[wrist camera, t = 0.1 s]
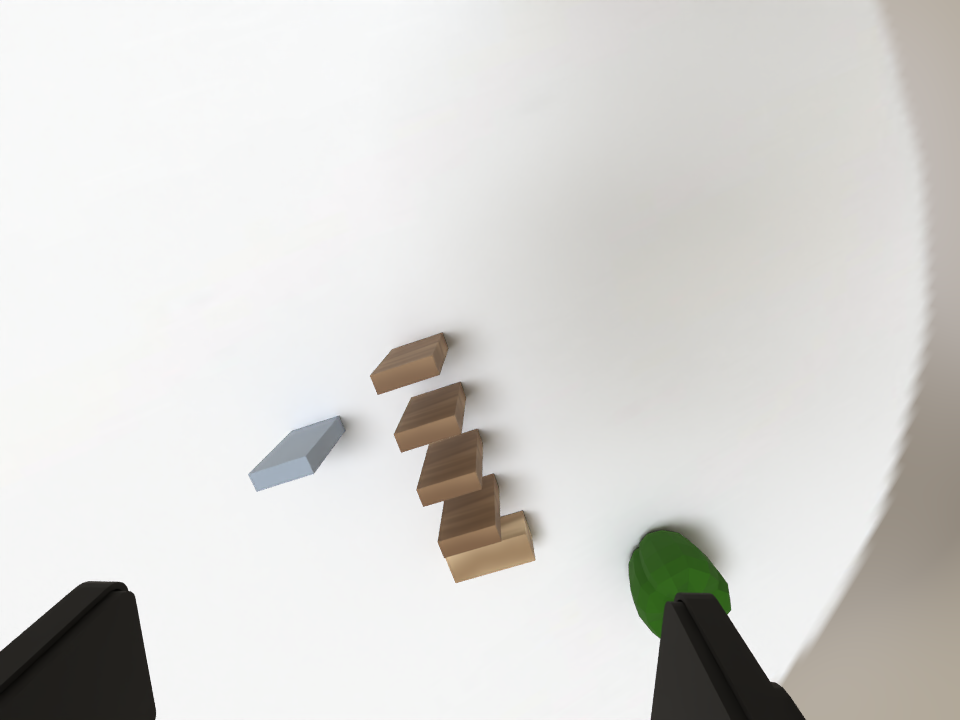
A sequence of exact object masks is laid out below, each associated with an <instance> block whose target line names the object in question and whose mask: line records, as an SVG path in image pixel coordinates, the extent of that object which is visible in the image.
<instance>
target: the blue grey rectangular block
mask: <svg viewBox="0 0 960 720" xmlns="http://www.w3.org/2000/svg"><path fill="white" fill-rule="evenodd" d="M344 432H345V429H344V426H343V424H342V422H341V419H340V417H339V416H337V417H334V418H331V419H327V420H324V421H321V422H318V423H315V424H312V425H309V426H306V427H303V428H300V429H297V430H294V431H291V432H290V433H289V434H288V435H287V436H286V437H285V438H284V439H283V440H282V441H281V442H280V443H279V444H278V445H277V446H276V447H275V448H274V449H273V450H272V451H271V452H270V453H269V454H268V455H267V456H266V457H265V458H264V459H263V460H262V461H261V462H260V463H259V464H258V465H257V466H256V467H255V468H254V469H253V470H252V471H251V472H250V473H249V474H248V475H249V477H250V479H251V481H252V483H253V485H254V487H255V489H256V491H260V490H264V489H267V488H270V487H273V486H276V485H279V484H283V483H286V482H289V481H292V480H295V479H299V478H302V477H305V476H308V475H311V474H314V473H315V471H316V470H317V469H318V467H319V466H320V465H321V463H322V462H323V460H324V459H325V458H326V456H327V455H328V454H329V452H330V451H331V449H332V448H333V447H334V445H335V444H336V443H337V441H338V440H339V438H340V437H341V436H342V434H343V433H344Z"/></svg>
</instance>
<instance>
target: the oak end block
mask: <svg viewBox="0 0 960 720" xmlns="http://www.w3.org/2000/svg"><path fill="white" fill-rule="evenodd" d="M500 522H501V541H502V542H498V543H495V544H491V545H488V546H485V547H481V548H478V549H474V550H471V551H467V552H464V553H460V554H457V555H454V556H450V557H447V558H446V561H447V563H448V566H449V568H450V571H451V573H452V575H453V578H454V580H455V583H458V582H461V581H465V580H468V579H472V578H475V577H479V576H483V575H486V574H490V573H493V572H497V571H500V570H504V569H507V568H511V567H514V566H518V565H521V564H525V563H528V562H532V561H535V555H534V548H533V542H532V535H531V532H530V530H529V527H528V524H527V521H526V518H525V516H524V513H523V511H520V512H516V513H513V514H509V515H506V516H503V517H500Z"/></svg>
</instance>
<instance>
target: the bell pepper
mask: <svg viewBox="0 0 960 720" xmlns="http://www.w3.org/2000/svg"><path fill="white" fill-rule="evenodd" d="M629 579H630V588H631V593H632V597H633V600H634V603H635V606H636V609H637V611H638V614H639V617H640V618H641V619H642V620H643V621H644V623H645V624H646V625H647V626H648V628H649V629H650V630H651V631H652V633H654V634H655V635H656V636H658V637H659V638H661V631H662V623H663V614H664V607H665V604H666V602H668V601H674V598H675V595H676V594H677V593H679V592H683V593H711V594H713V595H714V596H715V597H716V599H717V600H718V601H719V603H720V605H721V606H722V608H723V609H724V611H725V612H726V614H728V613H729V612H730V611H731V603H730V596H729V589H728V584H727V582H726V581H725V580H724V578H723V577H722V575H721V574H720V573H719V571H718V570H717V569H716V568H715V567H714V565H713V564H712V563H711V561H710V560H709V559H708V557H707V556H706V555H705V554H703V553H702V552H701V551H700V550H699V549H698V548H697V547H696V546H695V545H694V544H692V543H691V542H690V541H689V540H688V539H687V538H685V537H684V536H682V535H681V534H680V533H677V532H671V531H665V530H659V531H656V532H652V533H648V534H647V535H646V536H645V537H644V538H643V539H642V541H641V542H640V544H639V548H638V549H636V550H635V551H634V552H633V554H632V557H631V559H630V562H629Z"/></svg>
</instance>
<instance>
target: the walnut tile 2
mask: <svg viewBox="0 0 960 720" xmlns="http://www.w3.org/2000/svg"><path fill="white" fill-rule="evenodd" d="M465 401H466V396H465V393H464V390H463V387H462V385H461V382H458V383H455V384H452V385H449V386H446V387H443V388H440V389H437V390H434V391H430V392H427V393H424V394H421V395H418V396H415V397H412V398H411V399H410V401H409V403H408V405H407V407H406V410H405V412H404V414H403V416H402V418H401V420H400V422H399V424H398V427H397V429H396V431H395V433H394V436H395V439H396V441H397V444H398V446H399V448H400V451H401V452H405V451H408V450H411V449H414V448H417V447H421V446H424V445H427V444H430V443H433V442H436V441H440V440H443V439H446V438H449V437H452V436H456V435H459V434H461V433H462V425H463V417H464V409H465Z"/></svg>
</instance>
